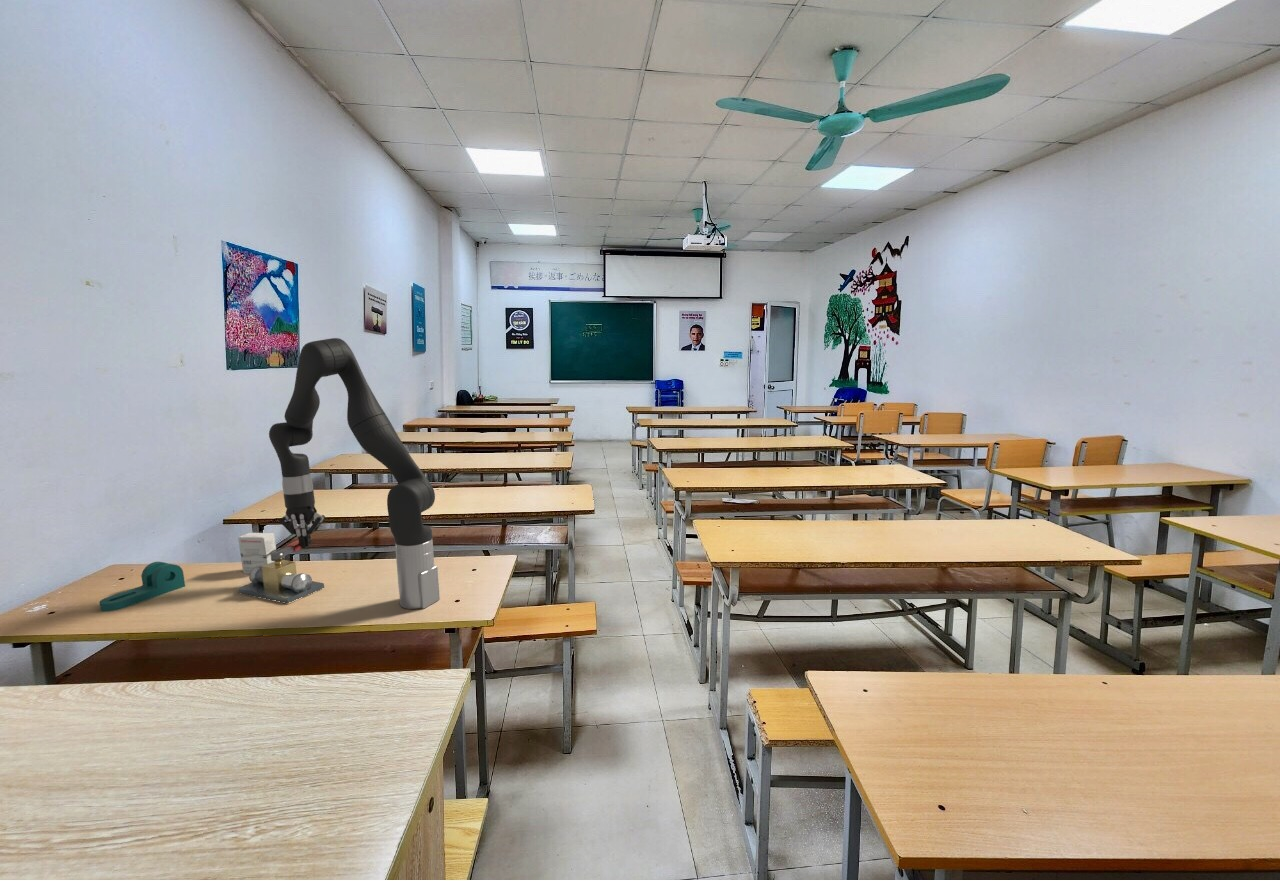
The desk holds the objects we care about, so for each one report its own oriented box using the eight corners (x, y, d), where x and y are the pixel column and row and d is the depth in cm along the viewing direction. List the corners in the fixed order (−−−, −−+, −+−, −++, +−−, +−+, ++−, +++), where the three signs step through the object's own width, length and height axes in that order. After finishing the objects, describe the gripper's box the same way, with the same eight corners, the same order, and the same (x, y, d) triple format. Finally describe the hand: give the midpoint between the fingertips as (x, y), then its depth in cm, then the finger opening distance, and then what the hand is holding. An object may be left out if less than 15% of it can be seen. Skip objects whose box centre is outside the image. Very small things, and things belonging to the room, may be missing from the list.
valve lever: (307, 545, 172) (306, 539, 172) (279, 561, 160) (279, 554, 159) (296, 545, 172) (295, 539, 172) (268, 561, 160) (267, 554, 159)
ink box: (279, 568, 179) (275, 532, 178) (268, 574, 175) (263, 537, 173) (254, 567, 180) (249, 531, 178) (241, 573, 175) (237, 536, 174)
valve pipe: (324, 588, 164) (321, 557, 163) (288, 604, 154) (284, 571, 152) (275, 578, 171) (272, 549, 170) (238, 593, 161) (234, 562, 160)
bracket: (170, 583, 169) (166, 558, 168) (185, 587, 167) (181, 561, 165) (94, 609, 152) (89, 581, 151) (110, 613, 150) (105, 585, 149)
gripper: (267, 493, 163) (275, 552, 166) (312, 492, 163) (320, 551, 165) (284, 487, 171) (292, 543, 173) (328, 486, 170) (334, 542, 173)
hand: (305, 547), depth 169 cm, fingers closed
